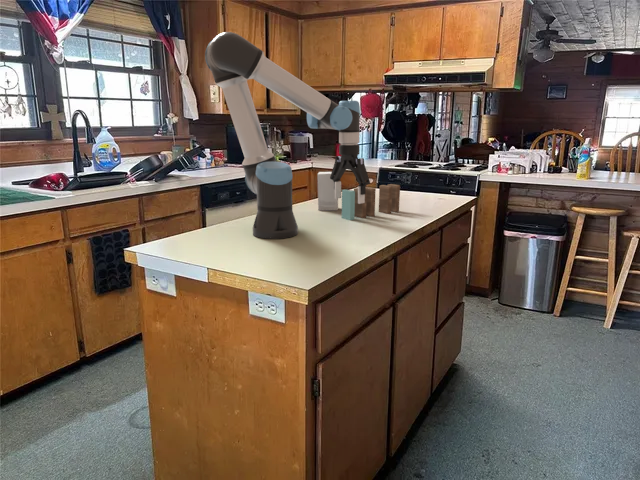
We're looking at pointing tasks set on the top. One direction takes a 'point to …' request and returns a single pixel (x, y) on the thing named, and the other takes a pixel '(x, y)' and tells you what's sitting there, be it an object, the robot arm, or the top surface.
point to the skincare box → (326, 192)
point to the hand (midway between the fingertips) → (349, 200)
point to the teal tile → (348, 204)
